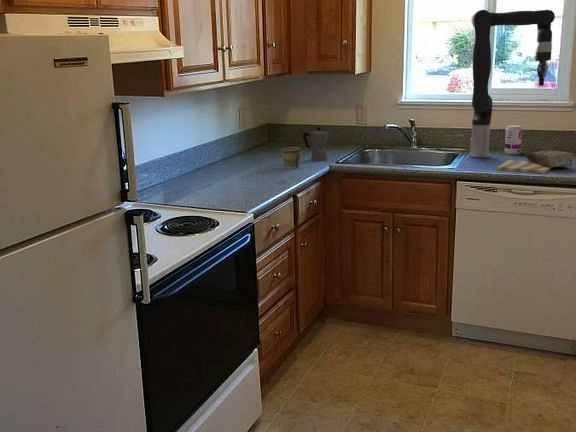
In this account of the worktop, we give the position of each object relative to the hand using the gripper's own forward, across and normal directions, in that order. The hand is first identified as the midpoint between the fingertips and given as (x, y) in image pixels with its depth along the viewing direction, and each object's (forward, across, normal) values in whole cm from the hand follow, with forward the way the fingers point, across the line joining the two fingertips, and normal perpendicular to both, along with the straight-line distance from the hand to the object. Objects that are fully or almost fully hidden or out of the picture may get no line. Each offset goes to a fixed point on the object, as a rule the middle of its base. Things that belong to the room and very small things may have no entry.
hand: (541, 85), depth 325 cm
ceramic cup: (+36, +84, -100) cm, 135 cm away
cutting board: (+37, +35, +3) cm, 51 cm away
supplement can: (+37, -3, -13) cm, 39 cm away
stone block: (+33, +19, +4) cm, 38 cm away
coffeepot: (+36, +60, -101) cm, 122 cm away
